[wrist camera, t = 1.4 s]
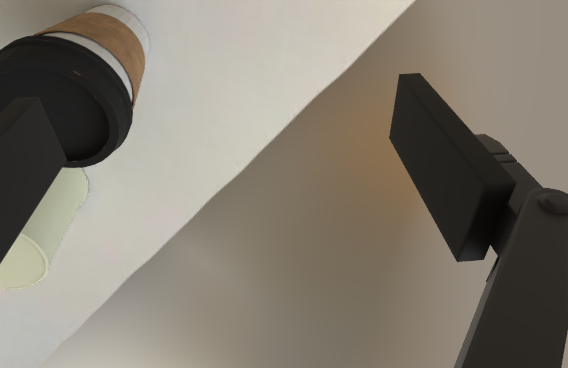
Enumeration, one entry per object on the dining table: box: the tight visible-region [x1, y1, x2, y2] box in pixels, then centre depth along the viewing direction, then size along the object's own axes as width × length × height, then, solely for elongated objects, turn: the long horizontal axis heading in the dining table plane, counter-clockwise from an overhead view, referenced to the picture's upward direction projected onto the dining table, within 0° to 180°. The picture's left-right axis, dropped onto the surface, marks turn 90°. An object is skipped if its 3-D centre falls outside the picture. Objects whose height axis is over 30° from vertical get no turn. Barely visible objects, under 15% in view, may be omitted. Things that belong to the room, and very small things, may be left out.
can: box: [0, 168, 89, 290], centre depth 39 cm, size 9×9×12 cm
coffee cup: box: [0, 5, 150, 168], centre depth 29 cm, size 8×8×15 cm
